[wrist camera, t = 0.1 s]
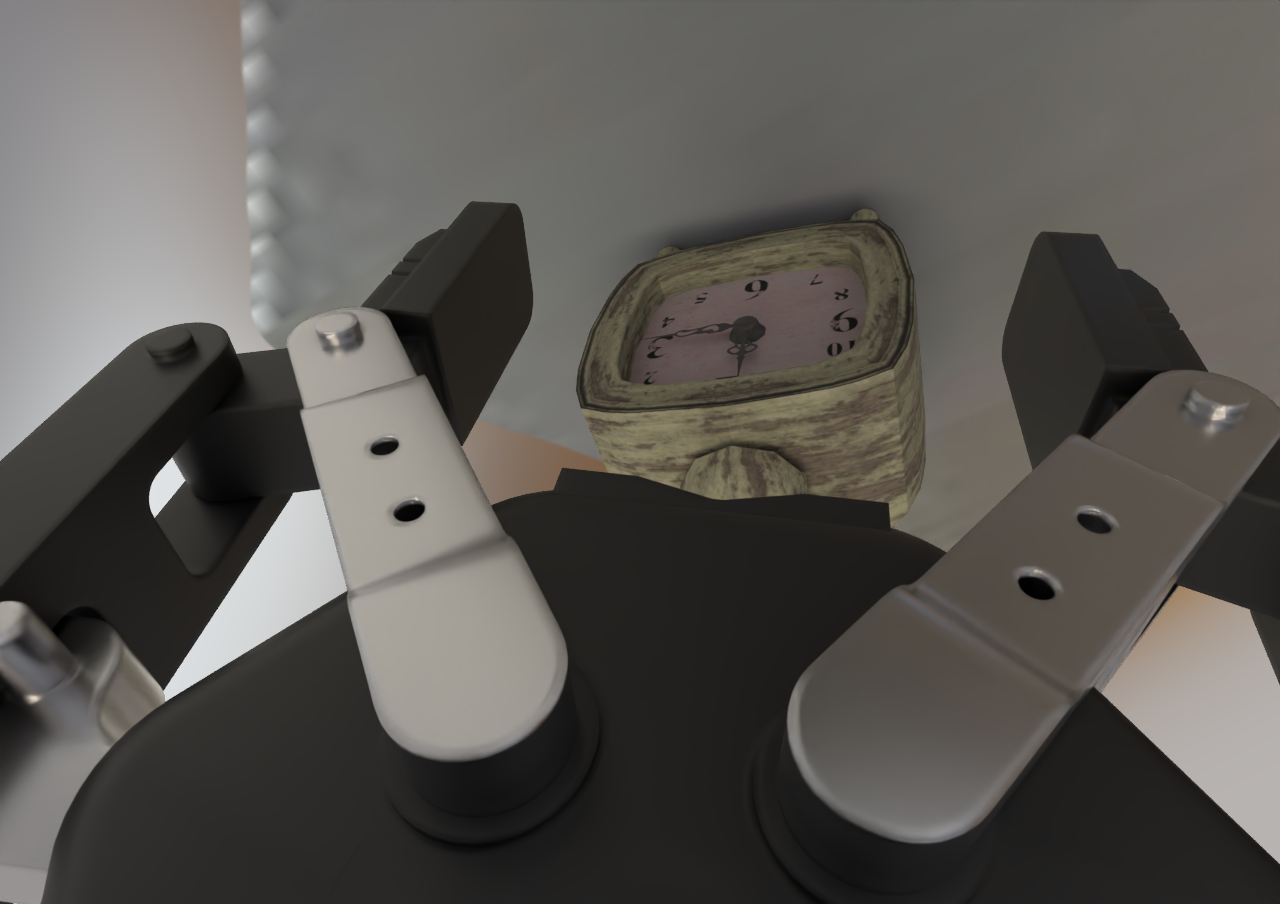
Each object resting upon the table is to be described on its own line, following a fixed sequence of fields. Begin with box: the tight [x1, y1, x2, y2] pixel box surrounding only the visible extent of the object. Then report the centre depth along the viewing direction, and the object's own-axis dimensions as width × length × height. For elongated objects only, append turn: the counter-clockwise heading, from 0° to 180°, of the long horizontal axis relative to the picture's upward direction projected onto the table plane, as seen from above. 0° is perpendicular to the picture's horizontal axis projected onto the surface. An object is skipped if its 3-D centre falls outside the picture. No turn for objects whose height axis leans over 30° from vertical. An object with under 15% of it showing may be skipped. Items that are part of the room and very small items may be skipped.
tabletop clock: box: [576, 209, 926, 528], centre depth 35 cm, size 14×9×25 cm, turn 106°
